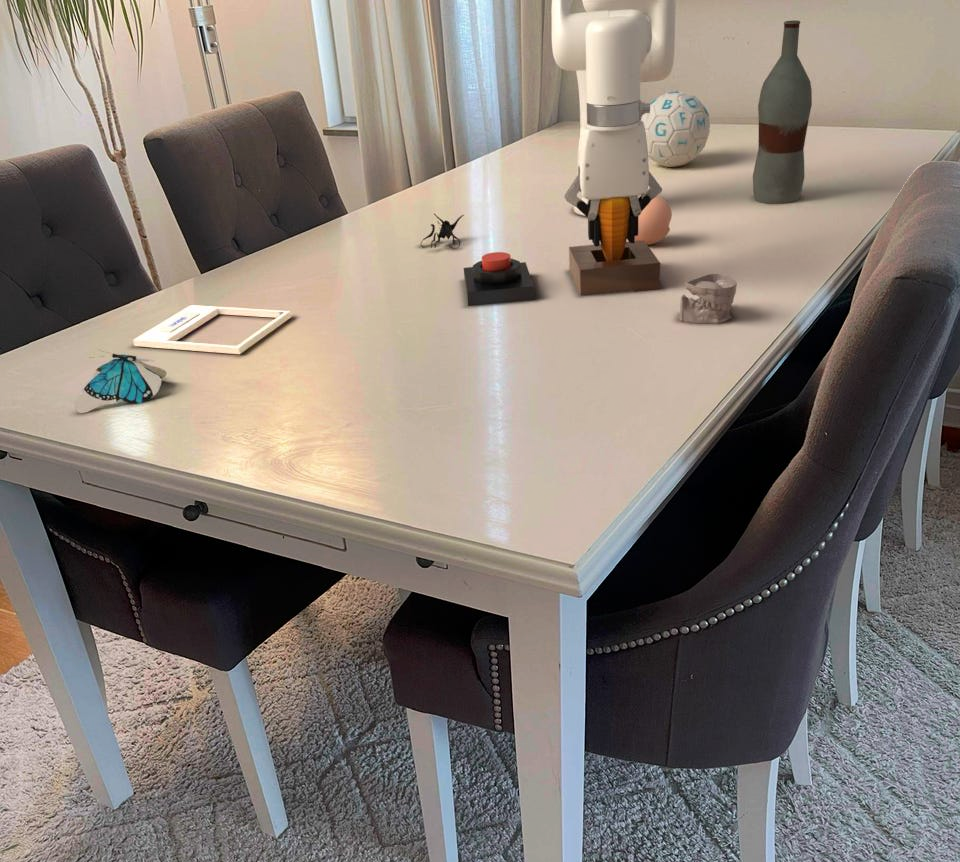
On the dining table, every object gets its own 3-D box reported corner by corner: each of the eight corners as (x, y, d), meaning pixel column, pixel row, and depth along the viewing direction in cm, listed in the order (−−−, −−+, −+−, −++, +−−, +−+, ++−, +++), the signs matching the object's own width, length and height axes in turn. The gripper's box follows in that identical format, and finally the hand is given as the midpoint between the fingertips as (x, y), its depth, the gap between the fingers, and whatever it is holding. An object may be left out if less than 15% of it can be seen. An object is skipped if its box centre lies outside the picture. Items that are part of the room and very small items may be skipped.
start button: (481, 264, 148) (480, 253, 147) (509, 262, 148) (509, 250, 147) (483, 273, 144) (482, 262, 143) (512, 270, 144) (511, 259, 143)
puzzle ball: (718, 159, 211) (722, 86, 203) (692, 175, 200) (695, 98, 192) (654, 156, 218) (656, 85, 210) (626, 171, 208) (627, 97, 200)
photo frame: (190, 303, 150) (290, 309, 144) (192, 310, 150) (291, 316, 144) (132, 338, 138) (238, 346, 132) (134, 345, 139) (239, 354, 133)
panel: (464, 281, 153) (462, 256, 151) (526, 275, 153) (525, 250, 151) (468, 306, 143) (465, 280, 141) (534, 300, 143) (533, 274, 141)
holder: (569, 271, 153) (568, 246, 151) (643, 264, 153) (643, 239, 151) (580, 296, 143) (580, 270, 141) (659, 288, 143) (660, 262, 141)
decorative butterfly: (156, 375, 119) (71, 364, 117) (155, 421, 122) (73, 412, 120) (171, 345, 127) (93, 334, 125) (171, 389, 130) (94, 379, 129)
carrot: (628, 273, 145) (629, 171, 137) (595, 273, 146) (594, 172, 138) (630, 263, 149) (631, 163, 141) (598, 263, 150) (597, 164, 142)
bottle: (747, 204, 179) (760, 25, 163) (754, 191, 186) (768, 19, 170) (799, 205, 176) (817, 23, 160) (804, 192, 183) (823, 17, 167)
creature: (454, 258, 167) (472, 235, 172) (449, 230, 164) (467, 208, 169) (415, 255, 170) (434, 233, 175) (409, 228, 167) (428, 206, 172)
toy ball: (680, 241, 163) (682, 193, 158) (654, 253, 158) (655, 204, 154) (641, 234, 167) (642, 188, 163) (615, 246, 163) (615, 199, 159)
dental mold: (701, 330, 128) (703, 294, 126) (670, 316, 134) (671, 281, 131) (747, 317, 131) (750, 281, 128) (715, 303, 136) (717, 269, 134)
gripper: (666, 105, 139) (662, 230, 148) (550, 115, 139) (554, 240, 148) (678, 114, 132) (673, 244, 142) (557, 125, 132) (561, 254, 142)
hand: (613, 241), depth 145 cm, fingers closed on carrot, 4 cm apart
